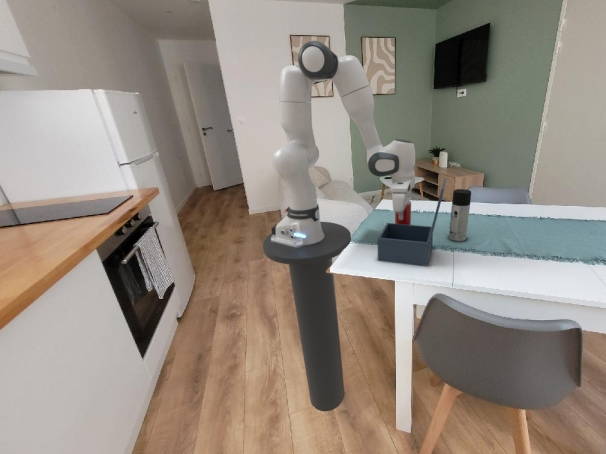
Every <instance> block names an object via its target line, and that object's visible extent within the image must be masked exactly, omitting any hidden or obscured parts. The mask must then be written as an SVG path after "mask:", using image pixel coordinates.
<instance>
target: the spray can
mask: <svg viewBox="0 0 606 454" xmlns="http://www.w3.org/2000/svg"><path fill="white" fill-rule="evenodd" d="M471 200H472V191H471V190H470V189H466V188H464V189H463V188H458V189H454V190H453V191H452V201H451V209H450V210H451V211H450V219H449V220H450V221H449V231H448V232H449V233H448V238H449V240H451V241H453V242H457V243H461V242H464V241H466V238H467V233H468V225H469V217H470V208H471Z"/></svg>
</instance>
